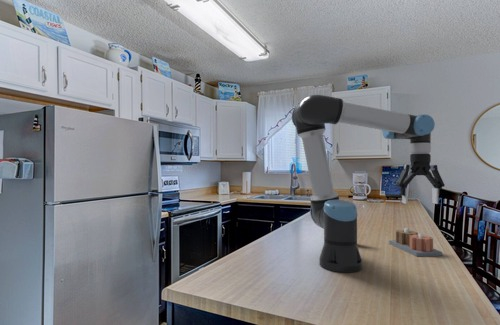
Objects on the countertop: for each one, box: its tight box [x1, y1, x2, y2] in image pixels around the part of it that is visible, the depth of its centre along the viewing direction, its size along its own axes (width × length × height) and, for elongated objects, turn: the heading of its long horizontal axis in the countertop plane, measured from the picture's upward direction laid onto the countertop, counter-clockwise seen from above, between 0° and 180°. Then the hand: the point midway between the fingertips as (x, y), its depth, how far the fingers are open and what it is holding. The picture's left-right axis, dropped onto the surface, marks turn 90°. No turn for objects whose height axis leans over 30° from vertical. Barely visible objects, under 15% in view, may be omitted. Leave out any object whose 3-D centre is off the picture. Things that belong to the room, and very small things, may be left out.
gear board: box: [388, 227, 443, 257], centre depth 130 cm, size 20×11×8 cm, turn 5°
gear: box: [409, 234, 434, 252], centre depth 126 cm, size 9×9×5 cm
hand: (420, 203), depth 126 cm, fingers open, 13 cm apart
